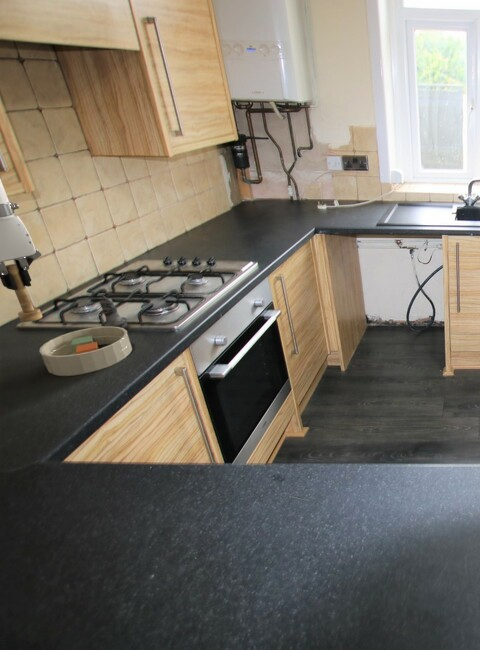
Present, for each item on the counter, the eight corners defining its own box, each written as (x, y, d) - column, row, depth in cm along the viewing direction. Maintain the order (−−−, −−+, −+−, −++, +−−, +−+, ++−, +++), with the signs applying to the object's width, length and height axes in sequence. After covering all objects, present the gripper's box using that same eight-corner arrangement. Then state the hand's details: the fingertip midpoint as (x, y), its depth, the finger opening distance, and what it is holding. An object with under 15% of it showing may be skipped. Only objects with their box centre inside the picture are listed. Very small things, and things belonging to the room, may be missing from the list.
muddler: (19, 323, 115) (-3, 268, 110) (21, 317, 118) (-1, 264, 113) (42, 319, 118) (21, 266, 112) (43, 314, 121) (23, 261, 115)
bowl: (45, 385, 113) (36, 363, 110) (50, 357, 125) (42, 336, 123) (134, 364, 123) (128, 344, 120) (131, 340, 135) (125, 321, 133)
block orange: (81, 365, 120) (75, 352, 118) (81, 359, 123) (76, 346, 121) (101, 361, 122) (96, 347, 121) (101, 355, 125) (96, 341, 123)
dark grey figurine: (107, 339, 135) (90, 301, 130) (106, 332, 139) (89, 295, 134) (132, 333, 138) (117, 296, 133) (130, 325, 142) (115, 289, 137)
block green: (76, 358, 123) (71, 344, 122) (77, 352, 126) (72, 339, 124) (96, 354, 126) (91, 340, 124) (96, 348, 128) (91, 335, 127)
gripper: (22, 204, 116) (48, 275, 123) (-70, 216, 102) (-34, 295, 109) (41, 207, 113) (67, 279, 121) (-50, 220, 100) (-15, 300, 107)
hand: (19, 286), depth 115 cm, fingers closed on muddler, 2 cm apart
